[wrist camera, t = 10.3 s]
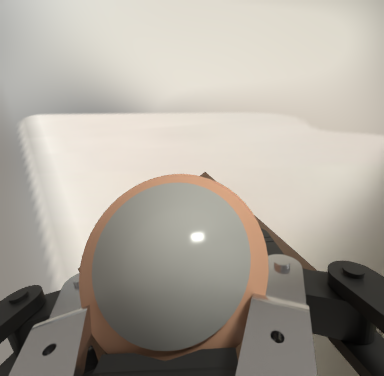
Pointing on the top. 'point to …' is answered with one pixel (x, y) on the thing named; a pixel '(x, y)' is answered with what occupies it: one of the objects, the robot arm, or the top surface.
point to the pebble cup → (173, 268)
